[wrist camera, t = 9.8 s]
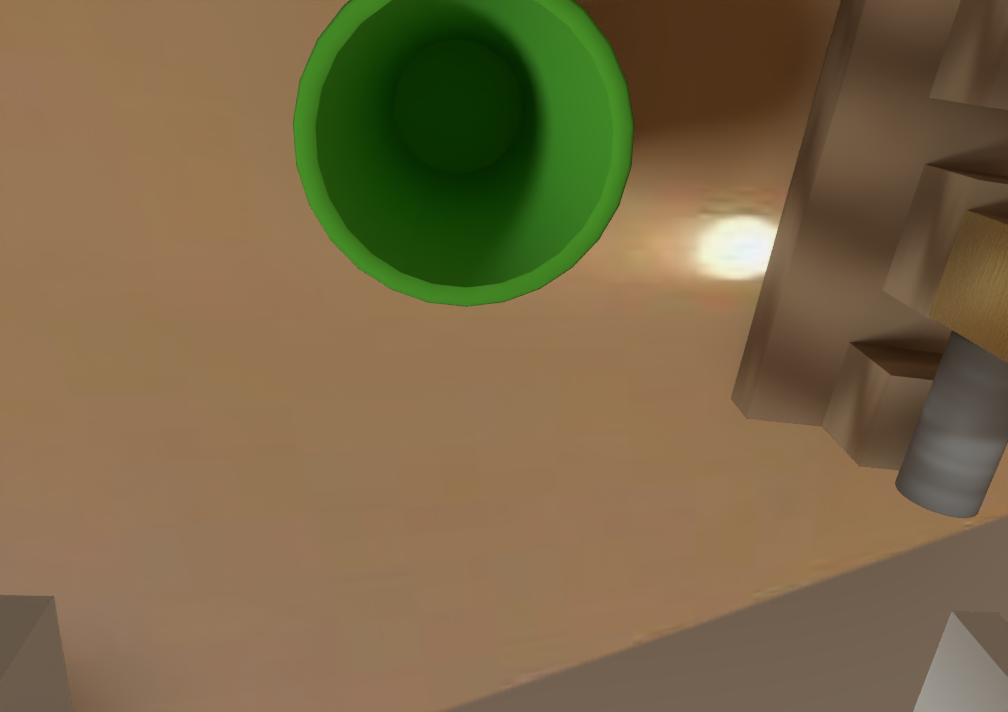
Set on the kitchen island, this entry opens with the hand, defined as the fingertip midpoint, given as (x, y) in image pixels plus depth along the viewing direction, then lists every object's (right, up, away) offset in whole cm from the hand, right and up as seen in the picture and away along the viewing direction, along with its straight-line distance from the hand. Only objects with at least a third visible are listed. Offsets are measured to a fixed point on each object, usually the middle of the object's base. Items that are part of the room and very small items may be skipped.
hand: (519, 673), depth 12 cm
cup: (-2, +14, +20) cm, 24 cm away
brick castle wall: (+17, +10, +23) cm, 30 cm away
